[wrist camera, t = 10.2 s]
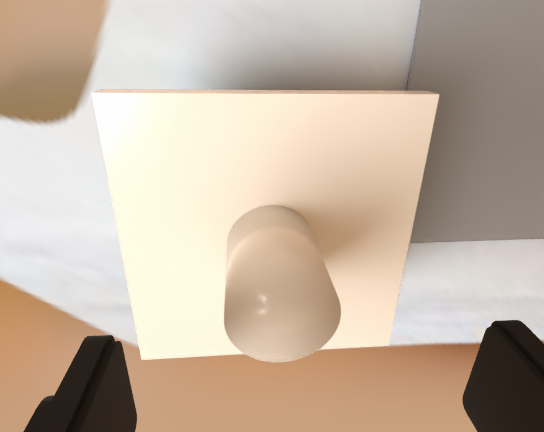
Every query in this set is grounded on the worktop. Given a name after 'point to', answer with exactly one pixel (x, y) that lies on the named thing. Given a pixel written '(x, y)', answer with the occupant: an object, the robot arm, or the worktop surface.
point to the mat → (481, 120)
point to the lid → (263, 214)
